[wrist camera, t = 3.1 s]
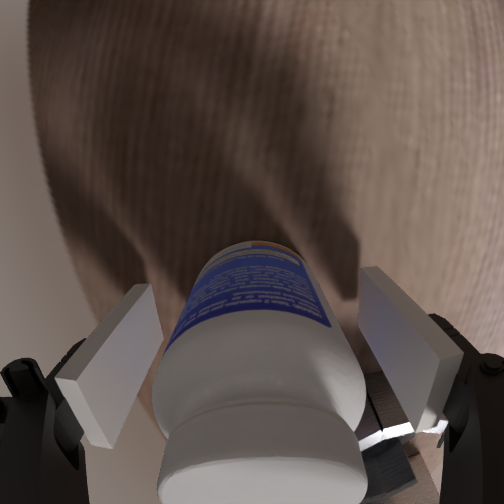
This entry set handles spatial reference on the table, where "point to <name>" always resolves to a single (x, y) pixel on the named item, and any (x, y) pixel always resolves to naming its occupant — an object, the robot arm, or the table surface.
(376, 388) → the cup bracket
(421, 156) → the table surface
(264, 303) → the pill bottle
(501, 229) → the table surface
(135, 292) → the robot arm
